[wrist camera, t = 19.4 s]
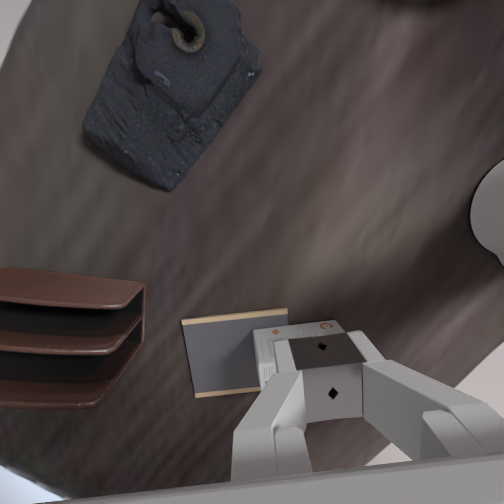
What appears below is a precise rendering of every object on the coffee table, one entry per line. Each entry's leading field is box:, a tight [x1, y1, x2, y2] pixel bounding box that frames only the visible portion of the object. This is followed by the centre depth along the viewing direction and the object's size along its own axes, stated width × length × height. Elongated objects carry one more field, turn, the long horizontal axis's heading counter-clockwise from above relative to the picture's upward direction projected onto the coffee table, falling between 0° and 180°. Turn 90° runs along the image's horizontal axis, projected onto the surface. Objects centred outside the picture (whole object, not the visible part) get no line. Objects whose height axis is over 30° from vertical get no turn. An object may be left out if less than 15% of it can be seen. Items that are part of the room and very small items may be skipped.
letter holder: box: [0, 267, 147, 410], centre depth 31 cm, size 10×20×14 cm, turn 82°
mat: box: [181, 308, 288, 398], centre depth 40 cm, size 16×14×1 cm
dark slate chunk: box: [83, 0, 262, 191], centre depth 29 cm, size 15×22×5 cm
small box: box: [253, 320, 345, 391], centre depth 36 cm, size 8×6×13 cm
